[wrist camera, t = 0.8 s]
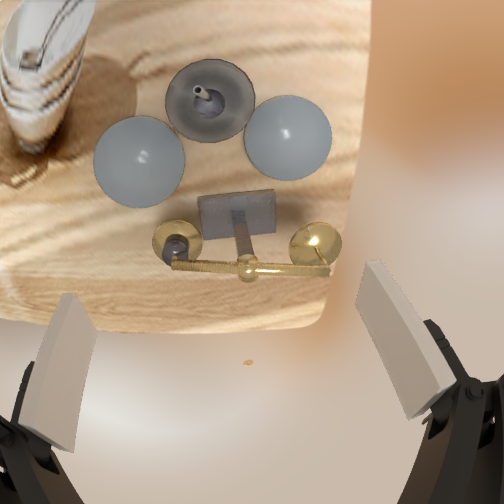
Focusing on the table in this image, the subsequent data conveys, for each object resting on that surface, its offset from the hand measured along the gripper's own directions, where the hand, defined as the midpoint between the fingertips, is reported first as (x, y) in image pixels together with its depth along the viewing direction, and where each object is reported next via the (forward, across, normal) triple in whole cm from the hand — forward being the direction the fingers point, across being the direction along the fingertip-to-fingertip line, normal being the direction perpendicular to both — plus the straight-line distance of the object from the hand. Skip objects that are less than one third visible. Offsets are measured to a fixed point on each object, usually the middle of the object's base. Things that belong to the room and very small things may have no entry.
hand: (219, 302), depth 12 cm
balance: (+26, +2, -10) cm, 28 cm away
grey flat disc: (+26, -10, -1) cm, 28 cm away
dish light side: (+26, +9, 0) cm, 28 cm away
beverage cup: (+27, 0, +6) cm, 27 cm away
